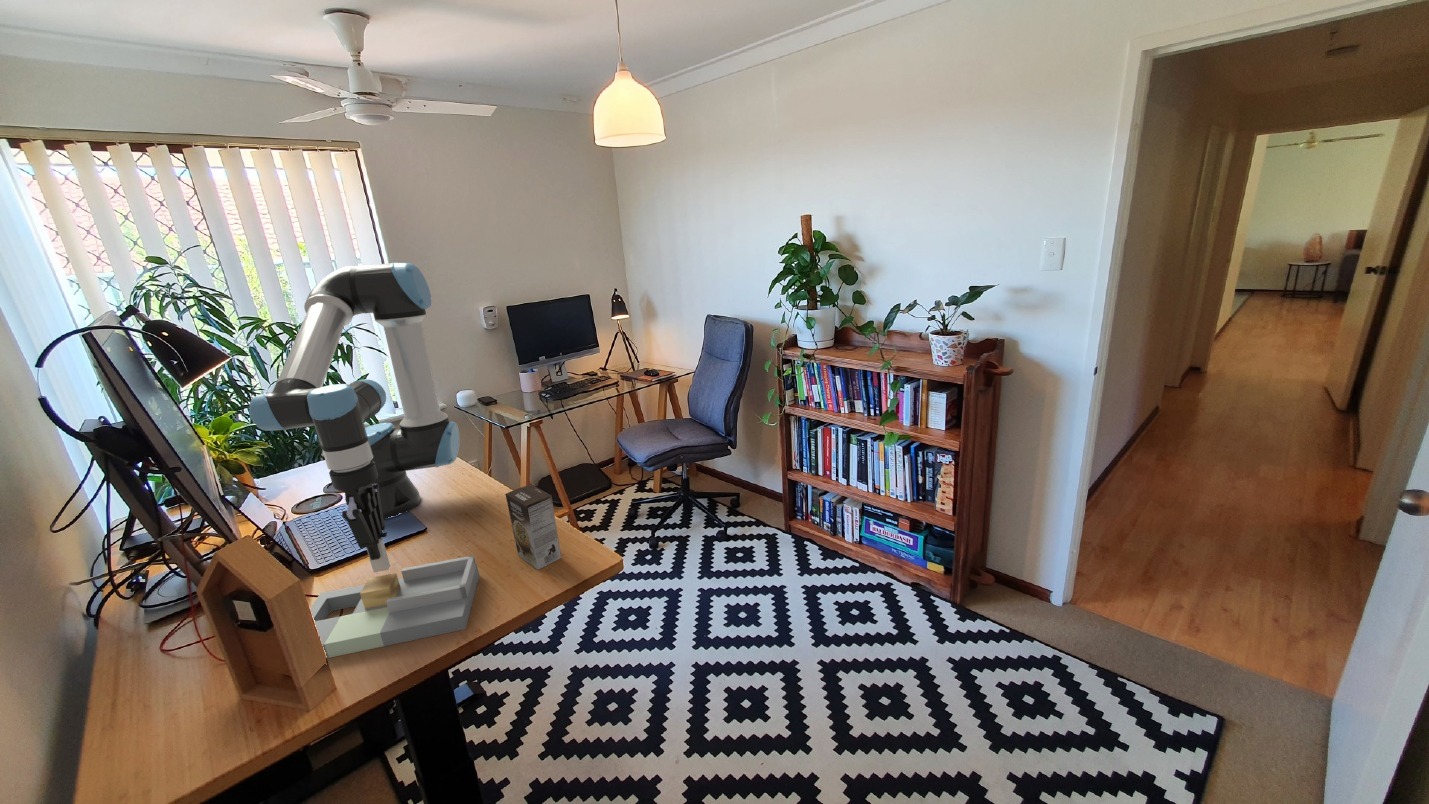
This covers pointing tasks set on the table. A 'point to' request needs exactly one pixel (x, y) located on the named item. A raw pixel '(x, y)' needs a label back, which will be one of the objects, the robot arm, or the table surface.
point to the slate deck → (400, 608)
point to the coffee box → (534, 525)
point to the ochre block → (380, 590)
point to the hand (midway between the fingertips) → (382, 569)
